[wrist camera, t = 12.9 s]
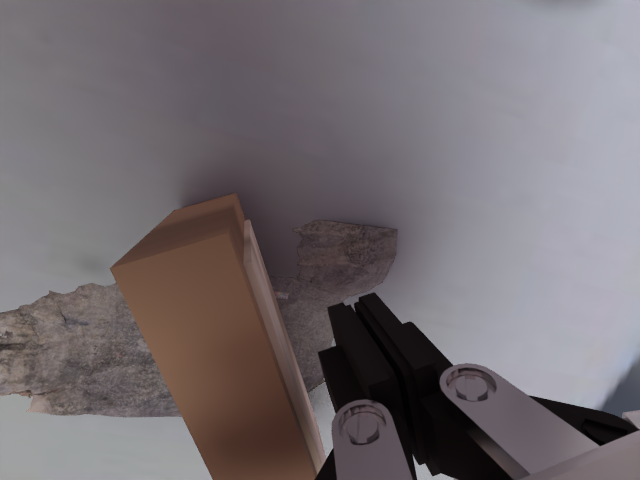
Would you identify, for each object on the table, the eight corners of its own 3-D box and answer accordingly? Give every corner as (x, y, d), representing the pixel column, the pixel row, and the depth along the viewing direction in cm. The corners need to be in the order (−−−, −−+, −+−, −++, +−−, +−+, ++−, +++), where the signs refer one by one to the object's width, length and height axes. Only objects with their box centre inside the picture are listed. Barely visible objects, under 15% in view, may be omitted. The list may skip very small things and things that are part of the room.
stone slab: (402, 218, 15) (372, 418, 17) (386, 213, 17) (361, 394, 19) (-104, 177, 11) (-72, 438, 13) (-57, 176, 13) (-33, 406, 15)
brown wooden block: (174, 210, 13) (109, 268, 7) (241, 191, 13) (237, 229, 7) (267, 443, 17) (280, 617, 10) (318, 424, 17) (359, 582, 11)
